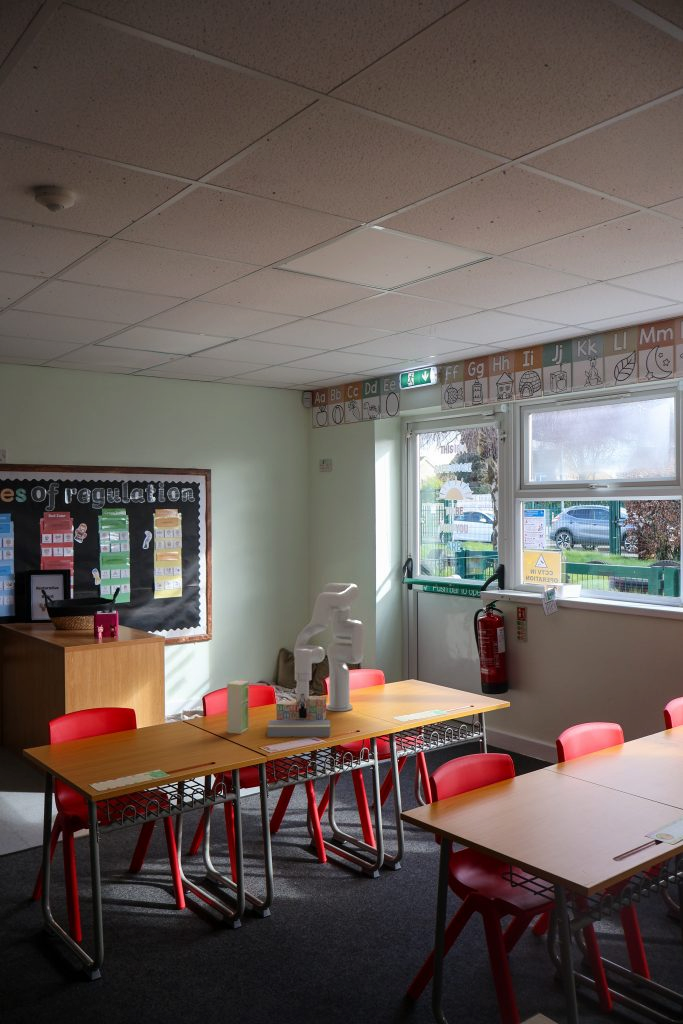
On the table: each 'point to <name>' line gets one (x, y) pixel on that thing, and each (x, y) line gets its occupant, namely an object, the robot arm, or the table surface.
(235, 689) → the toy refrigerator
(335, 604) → the robot arm
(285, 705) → the stack of blocks
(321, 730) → the block
